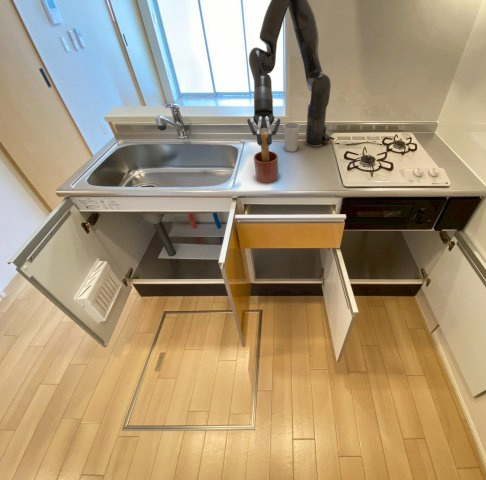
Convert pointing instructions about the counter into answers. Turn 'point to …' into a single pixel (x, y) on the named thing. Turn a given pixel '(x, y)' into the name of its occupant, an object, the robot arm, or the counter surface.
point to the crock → (266, 168)
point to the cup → (291, 136)
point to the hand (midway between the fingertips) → (264, 144)
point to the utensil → (264, 146)
